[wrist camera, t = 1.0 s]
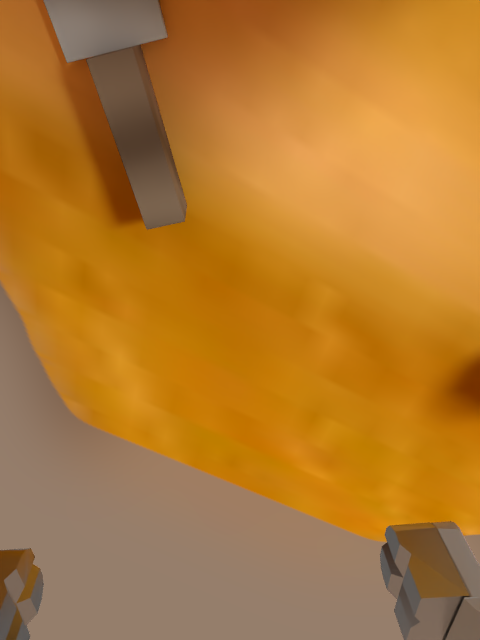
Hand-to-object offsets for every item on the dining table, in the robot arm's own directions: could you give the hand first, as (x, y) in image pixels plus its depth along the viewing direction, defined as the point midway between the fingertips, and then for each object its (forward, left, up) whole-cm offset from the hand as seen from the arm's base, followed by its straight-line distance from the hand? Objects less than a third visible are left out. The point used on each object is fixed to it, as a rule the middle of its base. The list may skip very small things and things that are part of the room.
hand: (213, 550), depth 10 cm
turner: (-4, -7, -25) cm, 27 cm away
